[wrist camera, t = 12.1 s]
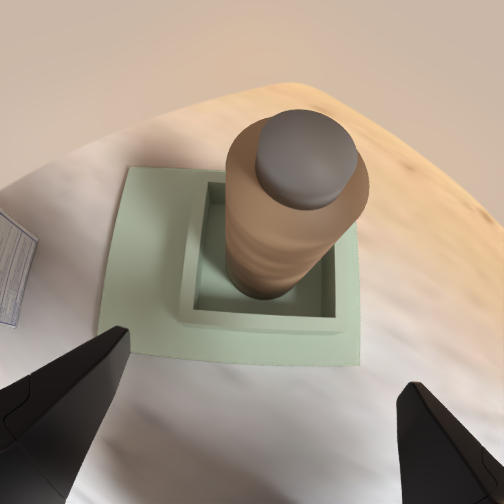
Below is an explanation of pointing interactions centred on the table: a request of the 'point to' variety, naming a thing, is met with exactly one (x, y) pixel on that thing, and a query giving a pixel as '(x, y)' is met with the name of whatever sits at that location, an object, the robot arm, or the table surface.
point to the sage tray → (218, 283)
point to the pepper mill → (288, 199)
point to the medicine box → (13, 266)
